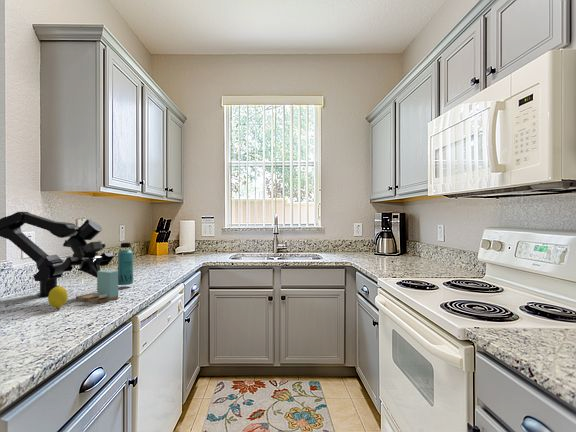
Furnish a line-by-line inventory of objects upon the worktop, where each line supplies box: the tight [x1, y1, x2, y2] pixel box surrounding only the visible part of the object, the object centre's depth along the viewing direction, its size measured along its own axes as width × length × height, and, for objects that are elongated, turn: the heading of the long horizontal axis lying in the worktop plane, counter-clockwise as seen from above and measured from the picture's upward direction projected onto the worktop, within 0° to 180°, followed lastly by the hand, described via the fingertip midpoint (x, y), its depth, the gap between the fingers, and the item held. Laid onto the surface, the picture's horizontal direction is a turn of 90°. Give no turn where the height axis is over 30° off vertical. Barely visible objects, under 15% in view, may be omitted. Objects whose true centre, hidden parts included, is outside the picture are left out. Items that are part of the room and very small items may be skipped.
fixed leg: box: [99, 270, 119, 298], centre depth 125 cm, size 4×6×10 cm, turn 157°
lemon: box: [47, 285, 69, 310], centre depth 114 cm, size 6×6×8 cm
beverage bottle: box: [117, 242, 134, 286], centre depth 149 cm, size 6×7×20 cm
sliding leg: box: [92, 269, 112, 297], centre depth 127 cm, size 4×6×10 cm, turn 157°
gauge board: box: [75, 292, 119, 304], centre depth 127 cm, size 14×8×1 cm, turn 67°
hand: (99, 277), depth 129 cm, fingers closed
